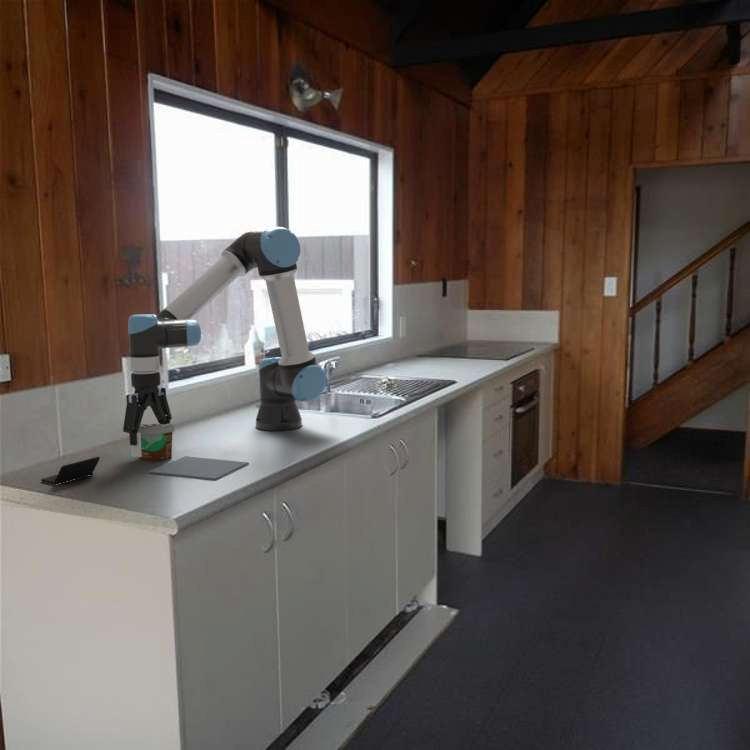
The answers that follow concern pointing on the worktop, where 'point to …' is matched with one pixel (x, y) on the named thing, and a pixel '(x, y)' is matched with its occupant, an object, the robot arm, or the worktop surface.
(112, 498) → the worktop surface
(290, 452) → the worktop surface
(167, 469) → the mat
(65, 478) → the handheld gaming console
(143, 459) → the food container
